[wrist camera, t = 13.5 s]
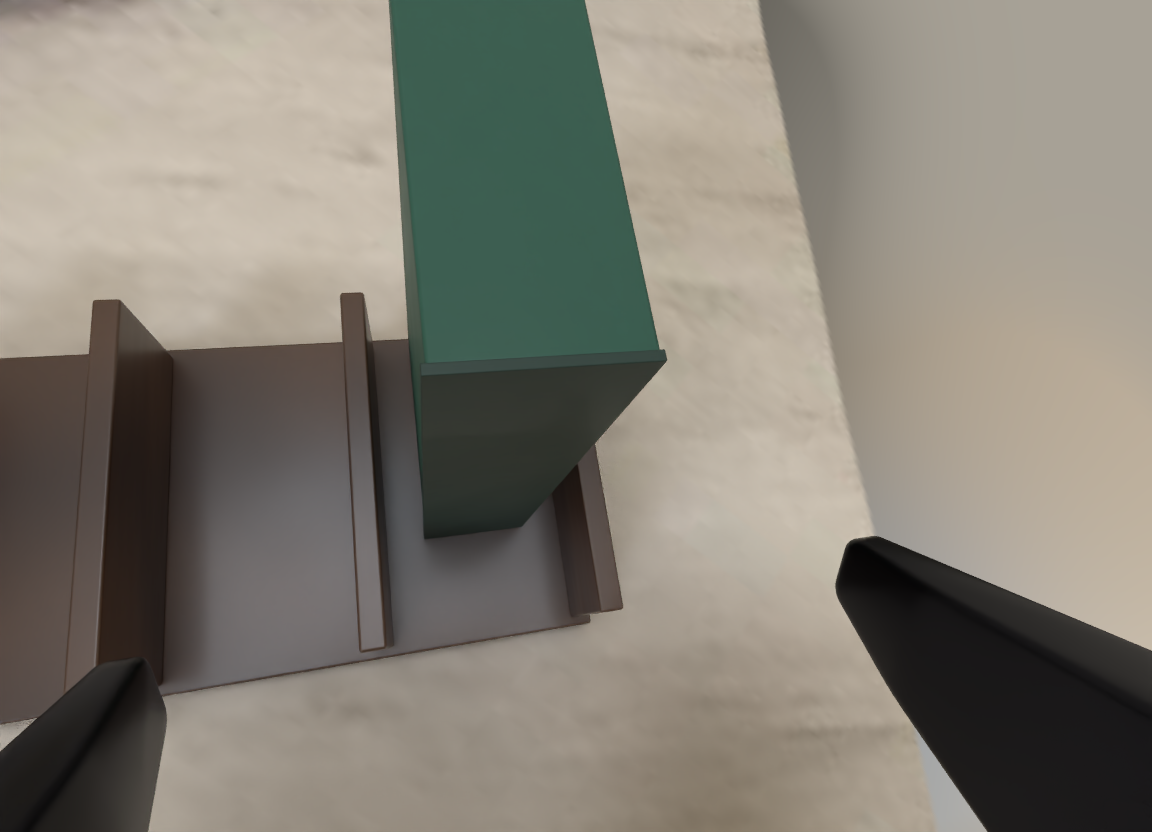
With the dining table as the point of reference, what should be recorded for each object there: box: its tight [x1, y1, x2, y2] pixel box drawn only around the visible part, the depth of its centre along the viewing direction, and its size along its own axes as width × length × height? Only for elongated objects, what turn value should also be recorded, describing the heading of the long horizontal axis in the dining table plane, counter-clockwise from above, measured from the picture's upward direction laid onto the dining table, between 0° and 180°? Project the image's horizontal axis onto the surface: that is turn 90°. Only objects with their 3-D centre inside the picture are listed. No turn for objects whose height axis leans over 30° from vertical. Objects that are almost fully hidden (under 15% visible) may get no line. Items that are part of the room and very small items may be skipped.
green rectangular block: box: [389, 0, 667, 539], centre depth 14 cm, size 6×3×12 cm, turn 9°
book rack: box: [0, 293, 623, 724], centre depth 17 cm, size 10×17×4 cm, turn 99°
